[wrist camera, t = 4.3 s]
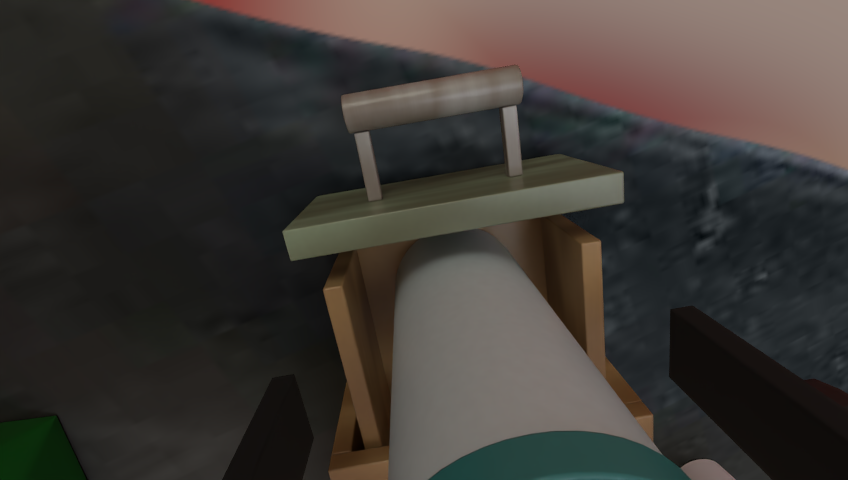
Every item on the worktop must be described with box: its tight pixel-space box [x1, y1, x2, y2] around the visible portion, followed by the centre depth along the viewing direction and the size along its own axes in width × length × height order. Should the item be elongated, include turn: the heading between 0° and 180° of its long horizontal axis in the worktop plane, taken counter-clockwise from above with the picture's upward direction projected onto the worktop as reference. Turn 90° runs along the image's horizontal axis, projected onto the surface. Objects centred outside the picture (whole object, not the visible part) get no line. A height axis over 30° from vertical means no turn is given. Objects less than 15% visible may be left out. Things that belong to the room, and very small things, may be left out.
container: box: [388, 229, 691, 480], centre depth 14 cm, size 7×7×15 cm
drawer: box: [283, 65, 624, 450], centre depth 19 cm, size 18×13×6 cm
